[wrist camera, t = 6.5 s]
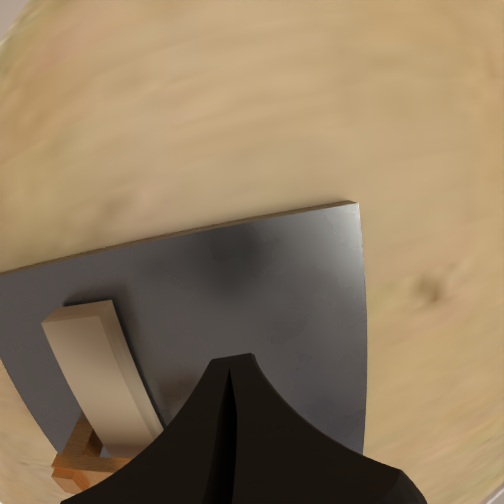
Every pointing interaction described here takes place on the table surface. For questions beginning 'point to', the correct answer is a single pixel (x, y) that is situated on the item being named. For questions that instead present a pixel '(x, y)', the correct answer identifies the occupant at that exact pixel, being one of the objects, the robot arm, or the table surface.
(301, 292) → the base plate
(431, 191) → the table surface
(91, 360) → the link
